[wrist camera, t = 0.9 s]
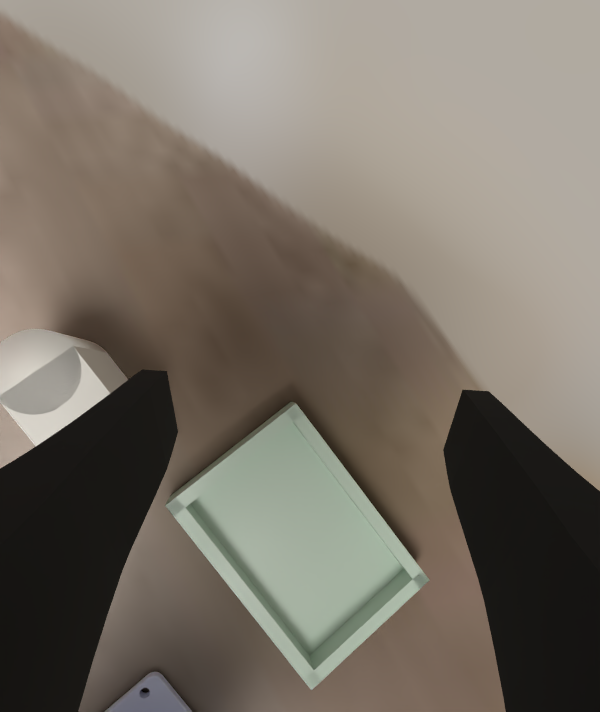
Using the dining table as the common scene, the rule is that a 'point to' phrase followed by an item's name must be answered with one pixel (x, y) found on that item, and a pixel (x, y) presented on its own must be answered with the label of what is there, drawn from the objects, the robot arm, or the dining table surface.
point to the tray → (298, 543)
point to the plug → (53, 379)
